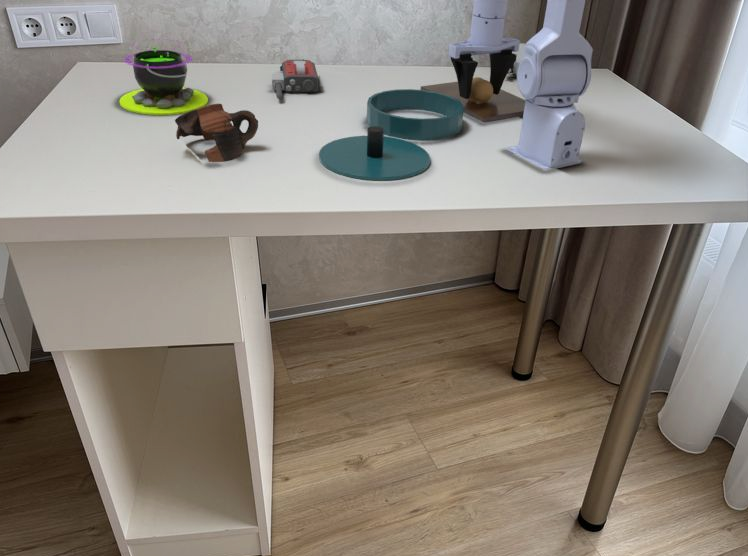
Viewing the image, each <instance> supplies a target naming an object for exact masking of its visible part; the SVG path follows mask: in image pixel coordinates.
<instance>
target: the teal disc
mask: <svg viewBox="0 0 748 556" xmlns="http://www.w3.org/2000/svg"><path fill="white" fill-rule="evenodd" d="M366 131H367V133H366V135H356V136H355V135H354V136H348V137H342V138H338V139H335V140H332V141H330V142H328V143H326V144H324V145H323V146H321V148H320V150H319V152H318V157H319V158H318V159H319V162H320V163H321V165H322V166H323V167H324V168H326V169H328V170H329V171H331V172H333V173H335V174H338V175H341V176H345V177H348V178H352V179H359V180H365V181H395V180H403V179H407V178H411V177H414V176H417V175H419V174H422V173H423V172H425V171H426V170H427V169H428V167H429V166H430V164H431V157H430V154H429V152H428V151H427V150H426V149H425V148H423V147H422V146H420V145H418V144H415V143H414V142H411V141H408V140H406V139H401V138H395V137H390V136H385V135H384V129H383V128H382V127H378V126H371V127H369V126H368V127H367V130H366Z"/></svg>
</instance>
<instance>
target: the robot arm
mask: <svg viewBox="0 0 748 556" xmlns="http://www.w3.org/2000/svg"><path fill="white" fill-rule="evenodd" d="M585 5H586V0H547V2H546V7H545V14H544V19H543V25H542V28H541V29H540V30H539V31H538V32H537V33H536V34H534V36H532V37H531V38H530V39H528V41H526V42H525V44H526V46H525V51H524V55H523V58H522V60H521V62H520V64H519V67H518V71H517V76H516V84H517V89H518V91H519V92H520V94H521V96H522V97H523V99H524V100H526V101H525V107H524V114H523V118H522V121H521V127H520V134H519V140H518V145H513V146H510V147H509V146H508V147H506V148H505V149H506V150H507V151H509V152H511V153H513V154H515V155H517V156H518V157H521V158H523V159H524V160H526V161H528V162H530V163H532V164H534V165H535V166H538V167H539V168H541V169H544V170H547V169H552V168H555V169H560V168H565V167H569V166H575V165H578V164H579V165H580V164H581V163H582V160H581V159H580V158H579V156H580V151H581V147H582V143H583V137H584V133H585V128H586V119H585V116H584V114H583V113H581V112H580V111H579V110H577V108H576V107H575V104H577V103H579V100H580V99H579V98H580V97H581V96H583V95H584V94H585V93H586V92H587V90H588V88H589V85H590V84H591V80H592V71H593V70H592V56H593V51H594V49H593V47H592V45H591V44H590V43H589V41H588V40H586V38H585V37H584V36H583V35H582V34H581V32H580V31H581V30H580V29H581V25H582V19H583V15H584V9H585ZM472 6H473V7H472V15H471V26H470V33H469V34H470V35H469V37H468V39H467V40H464V41H460V42H457V43H450V44H449V47H448V57H450V62H451V64H452V66H453V68H454V72H455V75H456V79H457V82H458V86H459V94H460V97H463V98H465V99H469V97H470V93H471V86H472V80H473V78H474V76H475V72H476V70H477V67H478V65H479V61H476V60H474V58H473V56H480V55H481V56H482V55H489V63H490V64H489V65H490V72H489V73H490V74H489V82H490V83H491V85H492V87H493V94H496V95H497V94H499V92H500V89H501V90H502V86H503V84H504V82H505V80H506V77H507V75H508V71H509V70H510V68H511V67H512V65H513V64H514V63H515V61H516V57H517V55H516V54H513V53H512V51H513V52H518V51H519V45H520V43H521V40H520V39H517V38H515V37H509V38H508V37H507V38H506V37H505V38H503V36H504V29H505V20H506V13H507V6H508V0H473V5H472ZM522 97H521V98H522Z"/></svg>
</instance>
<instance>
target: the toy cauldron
mask: <svg viewBox="0 0 748 556" xmlns="http://www.w3.org/2000/svg"><path fill="white" fill-rule="evenodd" d="M155 32H156V33H159V31H155ZM151 33H154V31H151ZM160 33H163V31H162V32H161V31H160ZM145 34H146V32H142V36H145ZM165 36H166V35H162V36H160V38H159V36H156V39H155V38H153V36H150V38H152V39H151V41H153V40H161V41H163V40H164V41H167V39H164V38H162V37H165ZM142 41H143V42H144V39H141V42H142ZM146 41H149V36H146ZM169 41H170V42H174V43H176V41H175V40H172V39H170V40H169ZM136 43H137V41H135V42H132V43H131V47H132V48H133V49H137V50H140V51H138V52H135V53H130V54H128V55H127V56H124V57H123V58H122V61H123V63H124V64H127V65H128V66H131V67H132V68H133V74H134V79H135V81H136V83H137V84H138V87H139V88H140V89H136V90H133V91H130V92H128V93H126V94H124V95H122V96H121V97H119V98H120V99H119V105H120V107H121V108H122V109H124V110H126V111H128V112H131V113H136V114H142V115H149V116H171V115H180V114H181V115H182V114H185V113H187V112H189V111H191V110H194V109H198V108H200V107H204V106H207V105H208V102H209V99H208V96H207V94H205V93H203V92H201V91H199V90H196V89H193V88H190V87H185V83H186V79H187V75H188V64H189V63H191V62H193V60H194V58H193V57H192V56H191V55H190V54H187V53H185V52H184V53H183V52H180V51H179V52H178V51H173V50H175V49H178V48H179V47H181V43H180V42H179V41H177V44H178V45H177V46H176V47H172V48H170V49H169V48H168V49H157V47H156V46H152V49H148V50H145V49H143V48H138V47H135V44H136ZM182 57H184V58H185V60H184V59H183V58H182ZM132 58H133V61H132Z"/></svg>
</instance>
